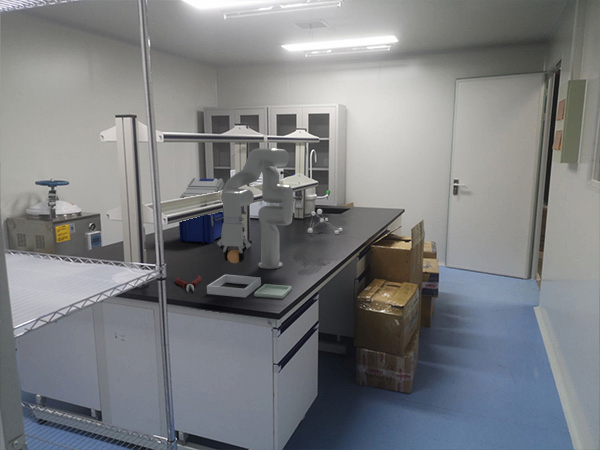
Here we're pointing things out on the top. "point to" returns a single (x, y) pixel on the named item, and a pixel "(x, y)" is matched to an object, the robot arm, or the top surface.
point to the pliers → (186, 284)
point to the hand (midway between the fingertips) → (234, 260)
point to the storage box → (206, 225)
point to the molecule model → (322, 221)
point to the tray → (273, 291)
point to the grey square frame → (236, 292)
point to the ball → (233, 256)
